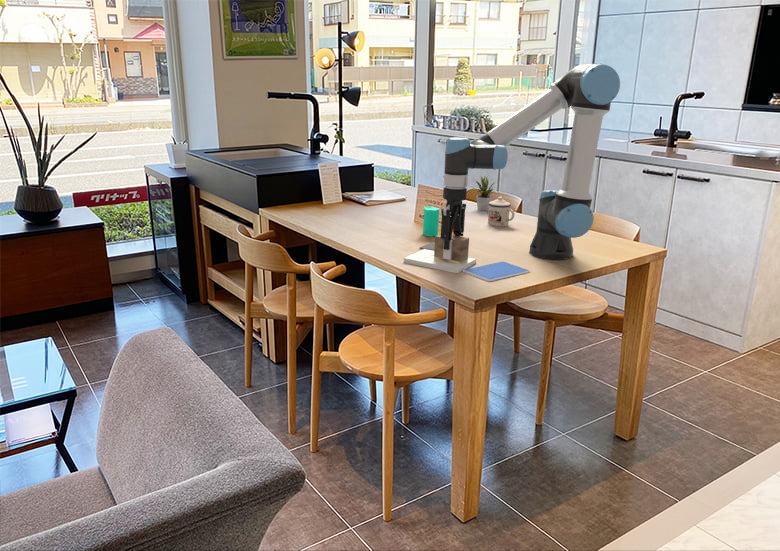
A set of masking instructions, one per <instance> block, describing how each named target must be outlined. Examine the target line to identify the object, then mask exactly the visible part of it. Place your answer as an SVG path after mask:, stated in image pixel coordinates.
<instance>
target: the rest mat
mask: <svg viewBox="0 0 780 551" xmlns="http://www.w3.org/2000/svg"><path fill="white" fill-rule="evenodd" d="M434 248H435V241H430V242H429V243H427V244H424V245H422V246H420V247H419V249H420V250H423V249H427V250H432V251H434Z"/></svg>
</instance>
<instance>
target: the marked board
mask: <svg viewBox="0 0 780 551" xmlns="http://www.w3.org/2000/svg"><path fill="white" fill-rule="evenodd" d="M403 263H404V264H405V263H406V264H410V265H415V266H420V267H425V268H429V269H430V268H431V269H433V270H438V271H445V272H448V273H454V274H459V273H461V272H463V270H464V269H469V267H470V268H471V266H473V265H475V264H476V263H477V258H473V257H469V256H468V261H467V262H465V263H464V264H462V265H459V264H454V263H449V262H444V261H439V260H434V251H432V250H427V249H420V250H419V251H417V252H415V253H412V254H410V255H407V256H405V257H403Z"/></svg>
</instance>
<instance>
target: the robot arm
mask: <svg viewBox="0 0 780 551" xmlns="http://www.w3.org/2000/svg"><path fill="white" fill-rule="evenodd" d="M620 89H621V80H620V76H619V74H618V72H617V71H616V69H614V68H613V67H612V66H611V65H608V64H603V63H582V64H579V65H577V66H574V67H572V68H571V69H569V71H567V72H565V73H564V74H563V75H562V76H560V77H559V78H557V79H556V80H555V81H554V82H552V83H551V84H550V86H549V89H547V91H545V92H543V93H542V94H541V95H539V96H538V97H536V98H535V99H533V100H532V101H531V102H529V103H528V104H526V105H525V106H523V107H522V108H520V109H519V110H518V111H516V112H515V113H513V114H512V115H511V116H509V117H508V118H506V119H504V120H503V121H502V122H501V123H499V124H498V125H497V126H495V127H493V128H492V129H490V130H489V131H487V132H486V133H485V134H483V135H481V136H480V137H479V138H475V139H472V140H471V139H470V138H468V137H458V136H457V137H456V136H455V137H449V138H448V139H446V142H445V150H444V170H443V171H444V175H443V186H444V187H443V188H442V189H443V191H442V199H444V200H446V204H445V207H444V208H441V210H440V212H441V221H440V223H441V225H440V234H441V239H444V249H443V258H444V259H449V260H451V257H452V240H451V237H452V235H455V236H461V237H464V232H465V220H466V219H465V218H466V209H467V203H464V202H463V201H465V200H466V199H467V192H468V188H467V187H468V179H469V175H468V174H469V169H470V170H472V169H473V170H474V169H475V170H476V169H477V170H481V169H482V170H483V169H484V170H499V169H500V170H503V169H504V168H506V166H507V163H508V149H507V147H509V146H510V145H511V144H512V143H514V142H515V141H517V140H518V139H520V138H521V137H523V136H524V135H526V134H527V133H528V132H530V131H532V130H533V129H534V128H535V127H537V126H539V125H540V124H542V123H543V122H544V121H546V120H547V119H549V118H550V117H551V116H554V115H555V114H556V113H557V112H559V111H560V110H562V109H563V110H567V109H569V108H571V109H572V110H573V112H574V116H573V122H572V129H571V134H570V141H569V146H568V149H567V150H568V151H567V155H566V162H565V168H564V173H563V178H562V184H561V188H559V189H544V190H541V192H540V195H539V200H538V201H539V203H538V214H537V225H536V232H535V234H534V236H533V239H532V241H531V242H530V243H531V244H530V245H529V254H531V255H532V256H533V257H534V256H535V257H537V258H541V259H546V260H568V259H570V258H572V257H573V256H574V247H573V242H572V239H575V238H580V237H582V236H584V235H585V234H587V233H588V232H589V231H590V230H591V229H592V227H593V224H594V213H593V210H592V209H591V206H592V202H593V196H592V195H591V193H590V186H591V181H592V175H593V171H594V164H595V161H596V160H595V159H596V154H597V150H598V145H599V139H600V134H601V129H602V124H603V119H604V116H605V115H606V114H608V113H609V112H610V109H611V104H612V101H613V100H615V98H617V96H618V94H619V92H620Z"/></svg>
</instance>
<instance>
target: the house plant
mask: <svg viewBox="0 0 780 551" xmlns="http://www.w3.org/2000/svg"><path fill="white" fill-rule="evenodd" d="M479 177H480V182H481V183H480V182H479V181H477V180H476V179H475V178H474V179H472V181H473V182H475V183H476V184H477V185H478V188H479V189H478V188H475V187H473V186H472V189H471V191H473V190H475V191H476V193H477V194H478V195H476V206H477V210H478V209H479V210H478V211H481V210H488V211H489V202H491V201H492V196H491V194H493V193H494V191H493V190H494V188H495V189H496V187H492V186H493V185H494V184H495V183H496V180H494V181H493V182H492V183H491V185H490V186H489V175H488V176H487V177H486V176H485V175H484V177H482V176H481V175H479ZM488 187H489V188H488Z"/></svg>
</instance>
